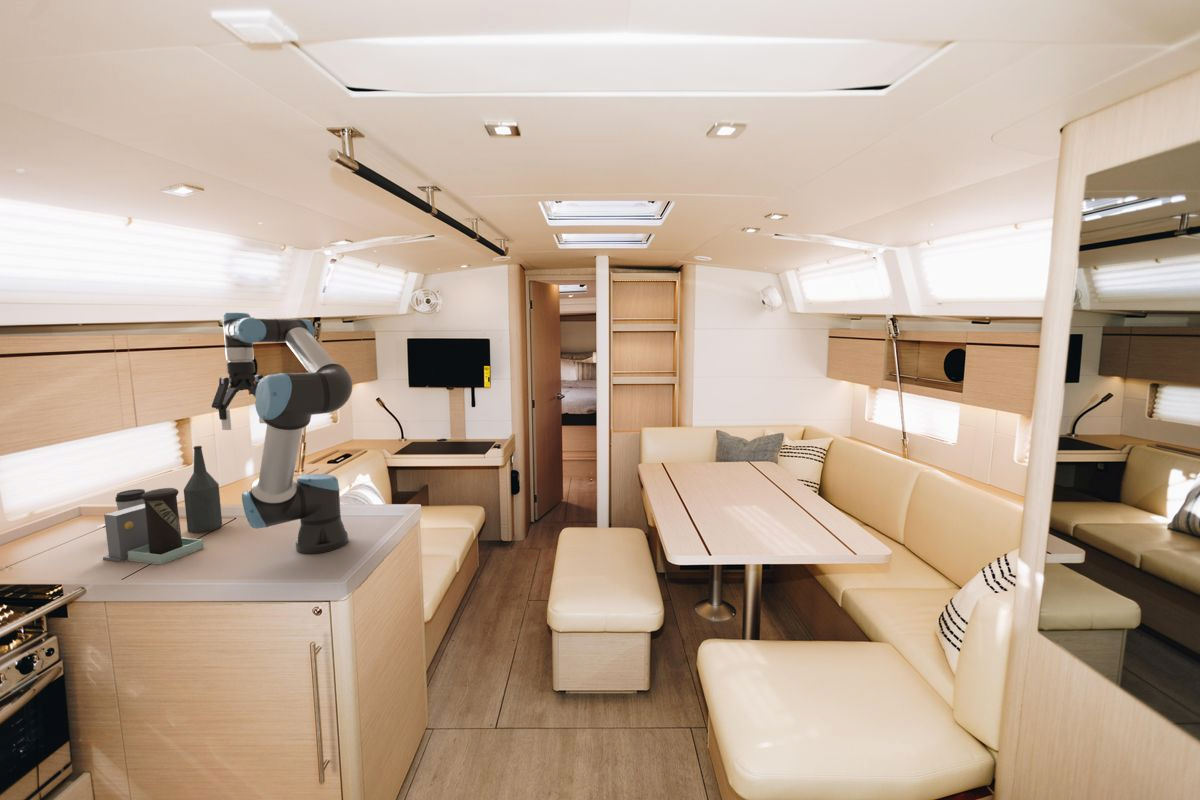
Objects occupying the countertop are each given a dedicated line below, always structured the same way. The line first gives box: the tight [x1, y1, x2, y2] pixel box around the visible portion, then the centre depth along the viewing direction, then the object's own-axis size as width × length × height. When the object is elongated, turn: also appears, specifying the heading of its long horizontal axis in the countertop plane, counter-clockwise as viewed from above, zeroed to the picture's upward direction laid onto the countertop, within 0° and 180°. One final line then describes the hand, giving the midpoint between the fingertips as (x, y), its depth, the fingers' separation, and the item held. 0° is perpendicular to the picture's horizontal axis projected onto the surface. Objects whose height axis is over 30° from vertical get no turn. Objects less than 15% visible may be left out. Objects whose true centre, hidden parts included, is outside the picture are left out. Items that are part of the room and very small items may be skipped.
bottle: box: [183, 445, 223, 534], centre depth 190 cm, size 10×10×30 cm
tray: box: [127, 536, 205, 566], centre depth 169 cm, size 13×13×3 cm
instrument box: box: [102, 504, 149, 562], centre depth 170 cm, size 7×14×14 cm, turn 165°
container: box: [142, 487, 182, 555], centre depth 167 cm, size 9×9×20 cm
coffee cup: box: [114, 488, 146, 511], centre depth 186 cm, size 8×8×15 cm
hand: (246, 426), depth 175 cm, fingers open, 13 cm apart
